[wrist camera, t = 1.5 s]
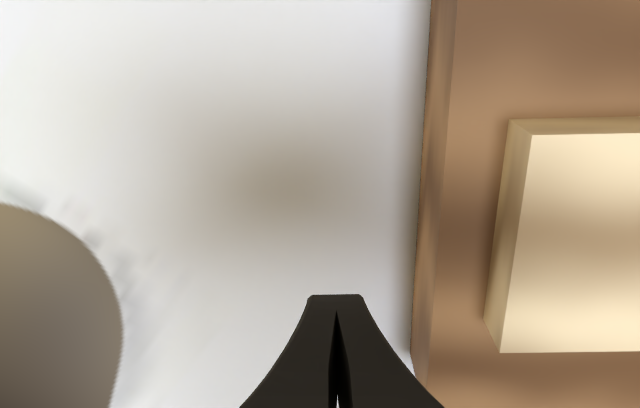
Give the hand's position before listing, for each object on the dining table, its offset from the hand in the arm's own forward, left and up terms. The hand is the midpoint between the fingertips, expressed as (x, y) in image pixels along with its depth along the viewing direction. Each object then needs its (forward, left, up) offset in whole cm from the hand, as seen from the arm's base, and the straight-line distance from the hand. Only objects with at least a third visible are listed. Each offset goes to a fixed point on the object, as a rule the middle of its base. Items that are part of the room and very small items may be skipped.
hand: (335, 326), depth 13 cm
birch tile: (0, -9, -6) cm, 11 cm away
